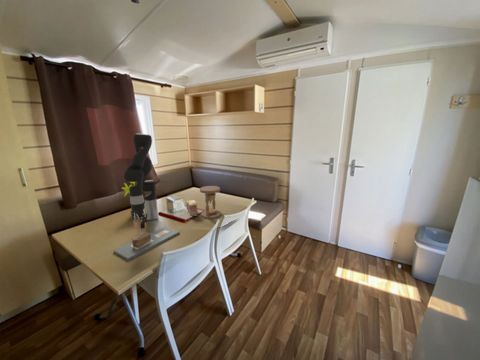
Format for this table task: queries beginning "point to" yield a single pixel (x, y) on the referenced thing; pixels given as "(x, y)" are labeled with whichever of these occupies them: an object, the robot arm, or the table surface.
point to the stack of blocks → (191, 207)
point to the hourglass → (210, 196)
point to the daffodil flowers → (128, 187)
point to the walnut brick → (141, 239)
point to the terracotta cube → (138, 224)
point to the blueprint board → (156, 239)
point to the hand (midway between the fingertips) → (140, 227)
